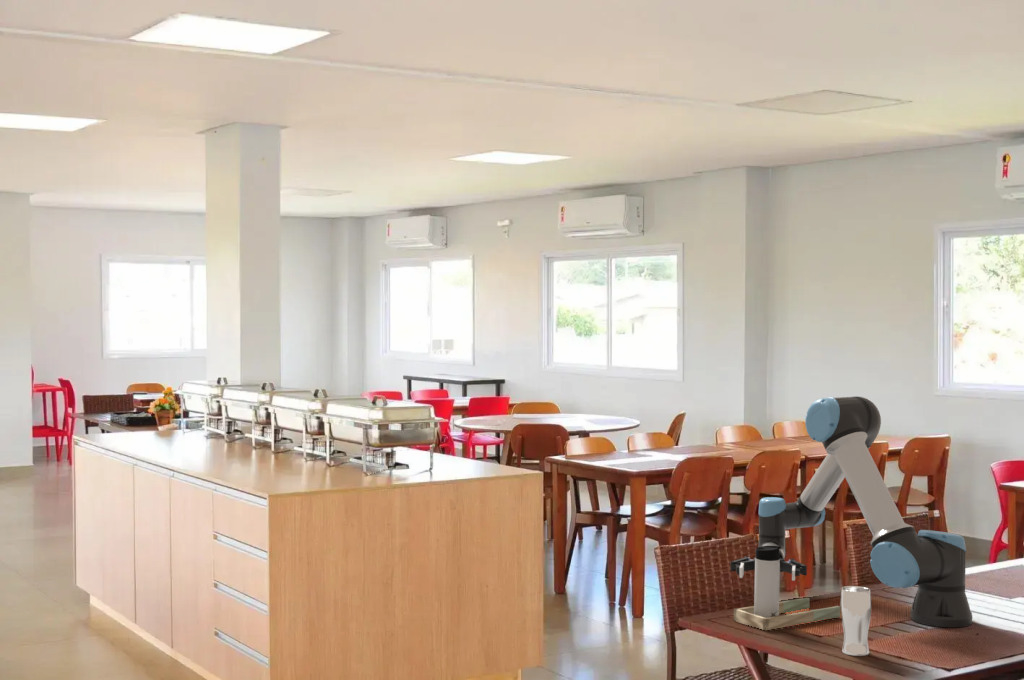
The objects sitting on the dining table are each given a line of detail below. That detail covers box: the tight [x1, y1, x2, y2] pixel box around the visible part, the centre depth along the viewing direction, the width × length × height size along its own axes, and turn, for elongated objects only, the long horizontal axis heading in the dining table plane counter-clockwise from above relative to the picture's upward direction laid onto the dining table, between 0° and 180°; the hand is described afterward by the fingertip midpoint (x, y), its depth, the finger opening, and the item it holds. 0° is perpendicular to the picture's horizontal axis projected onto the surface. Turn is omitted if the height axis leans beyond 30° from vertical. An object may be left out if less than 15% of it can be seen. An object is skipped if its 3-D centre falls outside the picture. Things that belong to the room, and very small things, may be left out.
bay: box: [733, 597, 841, 631], centre depth 303 cm, size 12×26×3 cm, turn 120°
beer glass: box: [839, 585, 872, 657], centre depth 273 cm, size 7×7×15 cm
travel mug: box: [753, 546, 781, 618], centre depth 300 cm, size 6×7×20 cm
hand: (766, 574), depth 307 cm, fingers open, 13 cm apart
